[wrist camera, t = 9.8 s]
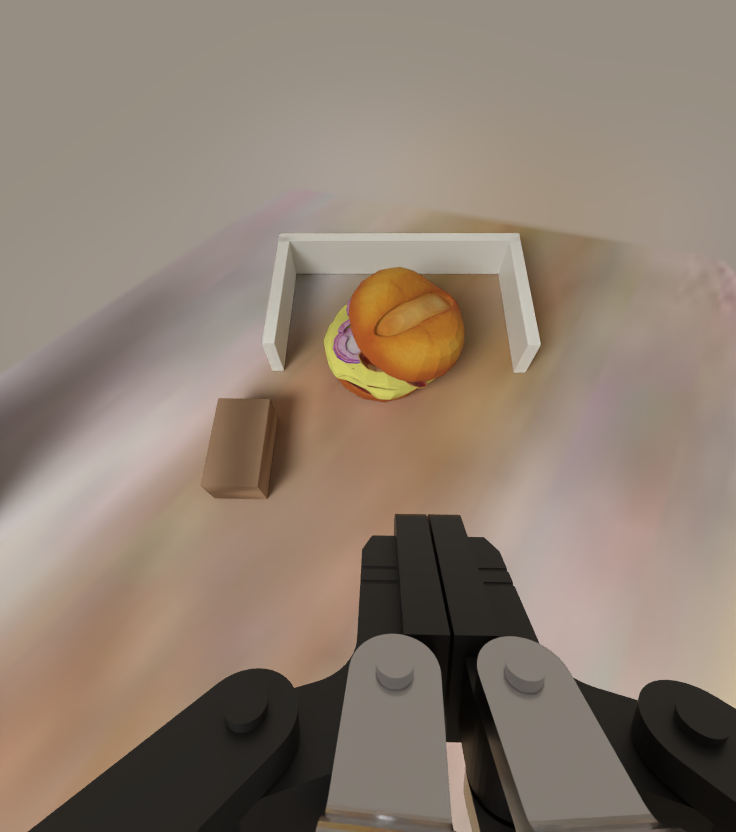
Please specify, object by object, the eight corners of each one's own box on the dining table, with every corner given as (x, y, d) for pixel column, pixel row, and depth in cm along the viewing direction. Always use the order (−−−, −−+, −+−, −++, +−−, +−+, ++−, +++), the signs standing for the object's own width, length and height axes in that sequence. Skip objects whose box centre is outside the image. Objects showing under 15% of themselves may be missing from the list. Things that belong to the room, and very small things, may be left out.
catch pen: (272, 370, 38) (261, 343, 34) (287, 266, 44) (279, 233, 40) (525, 372, 37) (540, 344, 34) (507, 266, 43) (518, 233, 39)
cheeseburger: (344, 301, 41) (366, 217, 32) (446, 345, 42) (495, 275, 33) (302, 386, 37) (315, 317, 28) (417, 434, 37) (465, 382, 29)
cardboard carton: (214, 498, 33) (200, 485, 30) (230, 416, 36) (218, 398, 33) (267, 498, 33) (257, 486, 30) (277, 416, 36) (269, 398, 33)
